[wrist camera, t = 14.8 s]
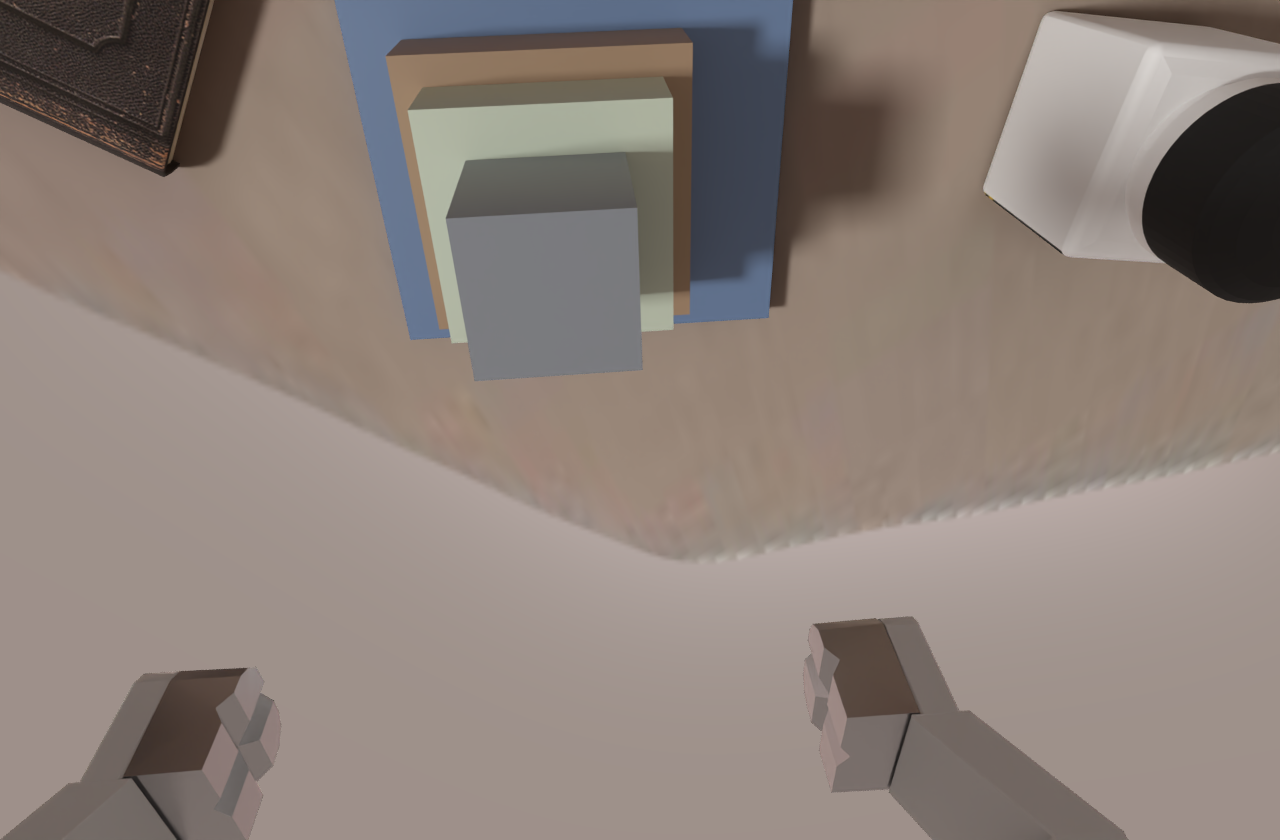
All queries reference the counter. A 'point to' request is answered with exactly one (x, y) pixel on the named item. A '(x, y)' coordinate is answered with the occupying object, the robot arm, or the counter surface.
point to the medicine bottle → (1149, 149)
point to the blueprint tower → (582, 131)
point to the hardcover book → (105, 70)
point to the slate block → (548, 265)
